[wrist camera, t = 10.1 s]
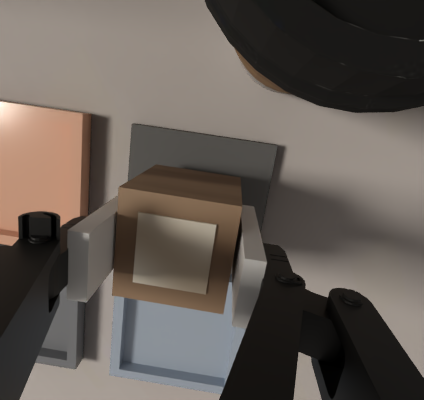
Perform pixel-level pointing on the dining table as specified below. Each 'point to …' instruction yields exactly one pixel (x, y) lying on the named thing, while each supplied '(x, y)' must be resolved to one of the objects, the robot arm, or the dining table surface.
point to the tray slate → (174, 344)
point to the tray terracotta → (42, 164)
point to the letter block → (177, 237)
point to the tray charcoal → (64, 335)
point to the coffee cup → (331, 49)
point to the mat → (206, 159)
